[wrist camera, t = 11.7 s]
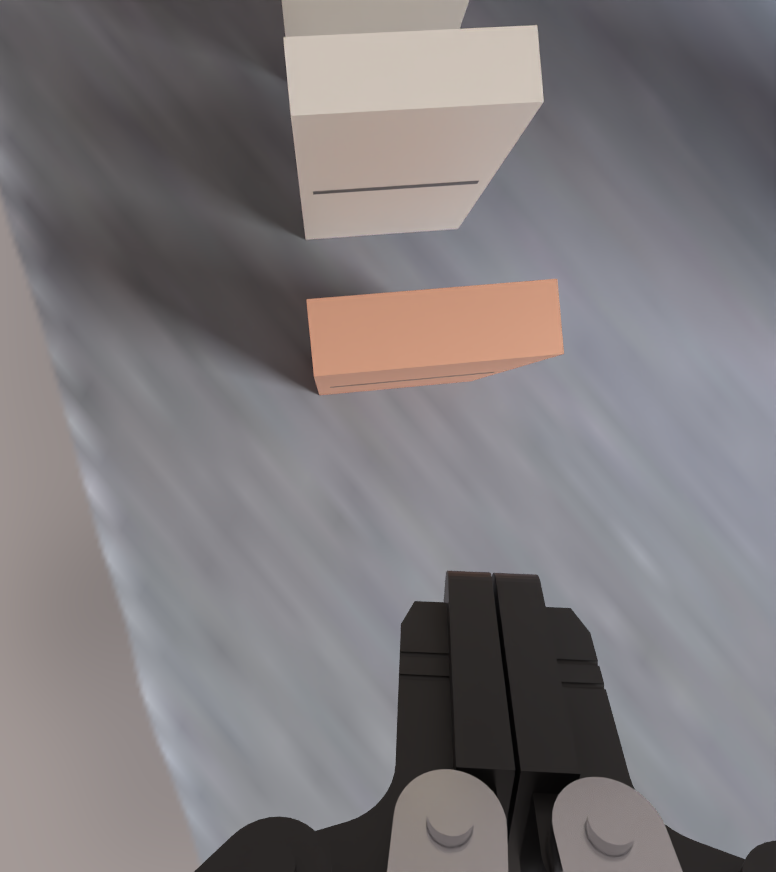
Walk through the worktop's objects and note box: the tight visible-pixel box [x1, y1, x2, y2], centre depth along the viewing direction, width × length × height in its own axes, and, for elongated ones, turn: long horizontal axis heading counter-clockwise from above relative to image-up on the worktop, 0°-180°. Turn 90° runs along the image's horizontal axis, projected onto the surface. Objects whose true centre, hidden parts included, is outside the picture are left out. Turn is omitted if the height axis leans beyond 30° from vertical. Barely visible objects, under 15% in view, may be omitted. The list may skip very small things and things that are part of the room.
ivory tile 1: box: [283, 25, 544, 240], centre depth 22 cm, size 2×6×11 cm, turn 95°
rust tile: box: [306, 279, 564, 395], centre depth 22 cm, size 2×6×11 cm, turn 96°
